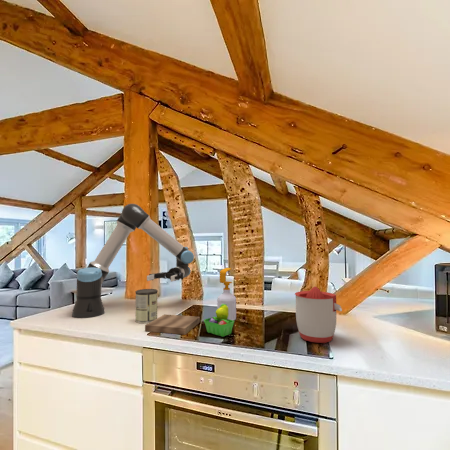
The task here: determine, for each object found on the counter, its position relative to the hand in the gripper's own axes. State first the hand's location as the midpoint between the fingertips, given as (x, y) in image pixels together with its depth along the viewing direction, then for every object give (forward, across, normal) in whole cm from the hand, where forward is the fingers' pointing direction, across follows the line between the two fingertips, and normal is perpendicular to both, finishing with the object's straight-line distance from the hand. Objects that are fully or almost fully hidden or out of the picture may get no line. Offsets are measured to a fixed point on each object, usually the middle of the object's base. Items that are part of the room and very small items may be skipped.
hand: (159, 278), depth 147 cm
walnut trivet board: (+18, -16, -18) cm, 30 cm away
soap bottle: (+1, -36, -19) cm, 41 cm away
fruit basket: (+21, -38, -19) cm, 47 cm away
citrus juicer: (+19, -77, -19) cm, 82 cm away
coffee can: (+12, +1, -18) cm, 22 cm away
